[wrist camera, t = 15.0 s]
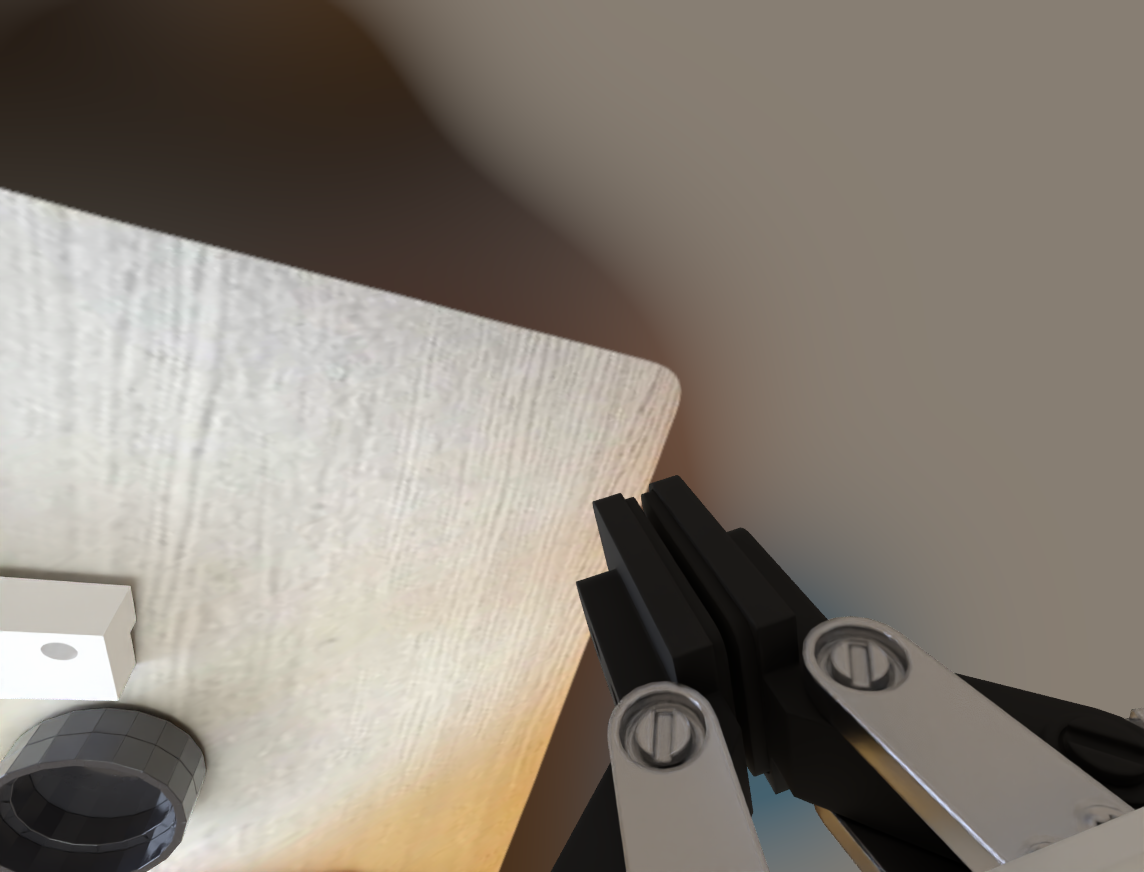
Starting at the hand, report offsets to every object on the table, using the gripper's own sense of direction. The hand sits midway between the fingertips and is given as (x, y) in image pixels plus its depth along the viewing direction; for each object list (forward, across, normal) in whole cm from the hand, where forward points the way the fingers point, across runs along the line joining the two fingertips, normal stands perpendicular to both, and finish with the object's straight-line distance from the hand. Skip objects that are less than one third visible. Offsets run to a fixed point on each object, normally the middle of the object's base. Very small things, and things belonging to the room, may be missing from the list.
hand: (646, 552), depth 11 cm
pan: (+27, +36, +25) cm, 52 cm away
